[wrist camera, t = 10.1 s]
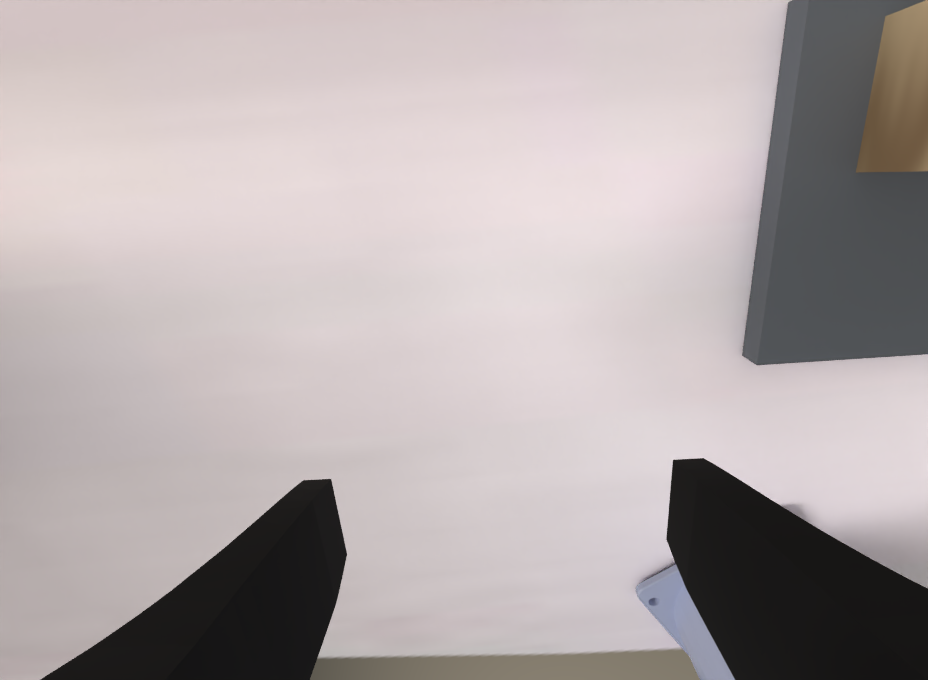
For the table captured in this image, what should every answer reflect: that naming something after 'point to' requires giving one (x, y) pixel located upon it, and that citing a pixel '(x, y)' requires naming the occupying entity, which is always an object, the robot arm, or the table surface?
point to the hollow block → (899, 97)
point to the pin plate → (835, 205)
